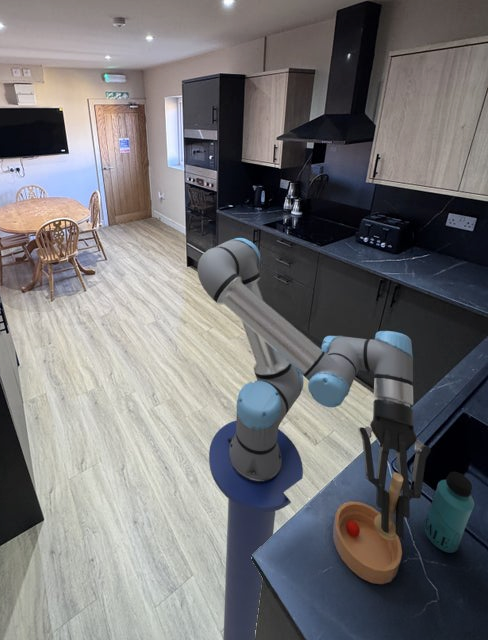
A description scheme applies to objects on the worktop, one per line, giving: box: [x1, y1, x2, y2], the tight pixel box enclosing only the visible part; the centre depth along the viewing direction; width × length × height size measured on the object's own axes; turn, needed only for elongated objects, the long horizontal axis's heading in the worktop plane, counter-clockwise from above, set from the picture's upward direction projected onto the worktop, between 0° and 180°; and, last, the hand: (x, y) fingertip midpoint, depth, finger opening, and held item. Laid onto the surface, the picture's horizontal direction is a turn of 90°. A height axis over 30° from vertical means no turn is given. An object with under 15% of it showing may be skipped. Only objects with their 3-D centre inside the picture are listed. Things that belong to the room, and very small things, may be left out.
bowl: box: [332, 500, 403, 585], centre depth 72 cm, size 13×13×5 cm
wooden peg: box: [374, 472, 403, 540], centre depth 65 cm, size 4×4×15 cm
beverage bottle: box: [424, 471, 475, 554], centre depth 71 cm, size 6×7×20 cm
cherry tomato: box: [346, 521, 360, 537], centre depth 75 cm, size 3×3×3 cm
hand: (392, 533), depth 62 cm, fingers closed on wooden peg, 2 cm apart
